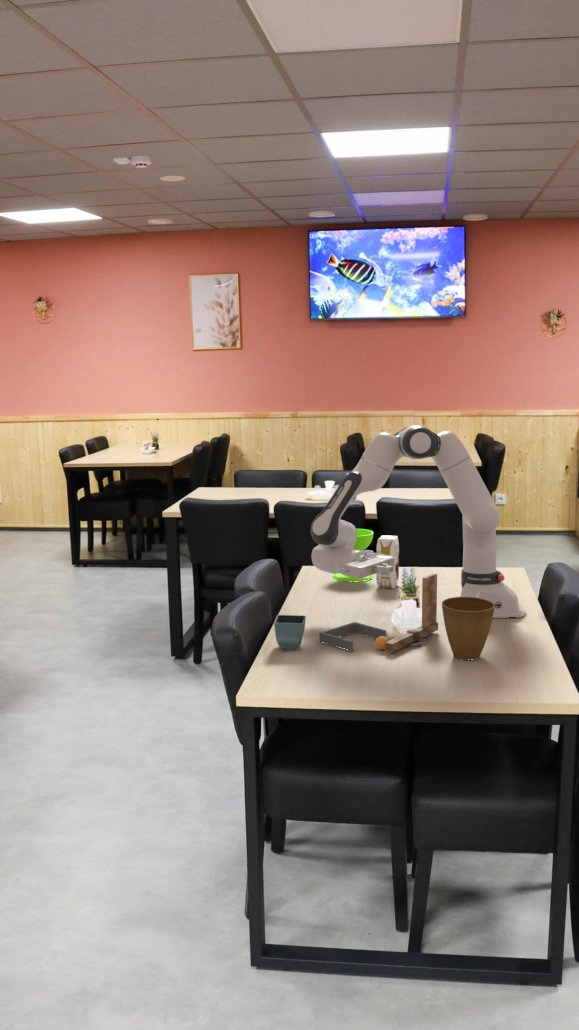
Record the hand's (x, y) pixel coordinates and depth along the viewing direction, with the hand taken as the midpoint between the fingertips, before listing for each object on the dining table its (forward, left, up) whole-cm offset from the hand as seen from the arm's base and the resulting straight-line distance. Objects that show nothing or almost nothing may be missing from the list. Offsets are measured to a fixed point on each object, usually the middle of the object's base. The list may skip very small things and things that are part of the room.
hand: (391, 569), depth 295 cm
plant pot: (-23, +27, -19) cm, 40 cm away
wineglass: (+17, -66, -19) cm, 71 cm away
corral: (+11, +16, -19) cm, 27 cm away
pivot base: (-7, +15, -19) cm, 25 cm away
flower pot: (+29, +24, -19) cm, 42 cm away
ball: (+2, +23, -19) cm, 30 cm away
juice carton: (+3, -53, -19) cm, 57 cm away
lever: (-7, +15, -18) cm, 25 cm away
